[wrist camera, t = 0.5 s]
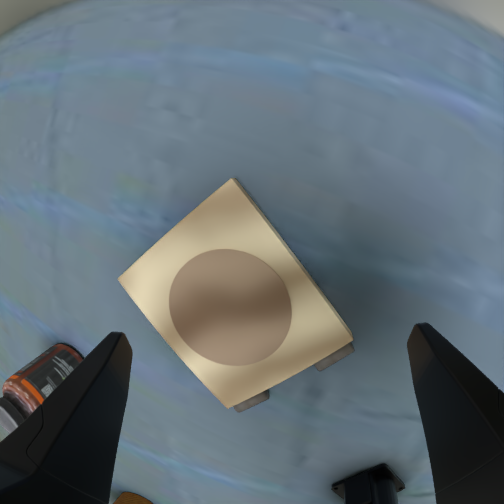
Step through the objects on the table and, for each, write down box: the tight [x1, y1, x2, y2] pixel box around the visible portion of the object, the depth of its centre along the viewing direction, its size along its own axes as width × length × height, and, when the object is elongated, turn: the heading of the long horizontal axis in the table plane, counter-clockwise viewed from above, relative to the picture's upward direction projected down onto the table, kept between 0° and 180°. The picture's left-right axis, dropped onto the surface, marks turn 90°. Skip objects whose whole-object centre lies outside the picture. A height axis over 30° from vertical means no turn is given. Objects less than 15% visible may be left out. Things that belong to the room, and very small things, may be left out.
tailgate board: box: [118, 178, 354, 412], centre depth 23 cm, size 15×12×1 cm
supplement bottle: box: [0, 344, 83, 434], centre depth 23 cm, size 6×6×11 cm
